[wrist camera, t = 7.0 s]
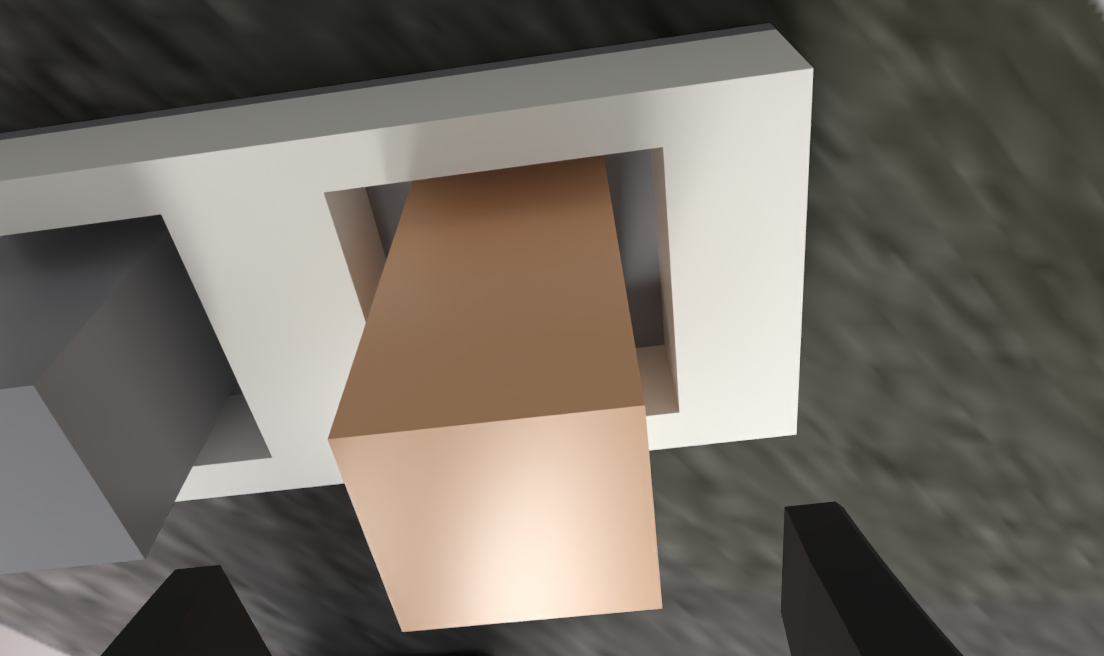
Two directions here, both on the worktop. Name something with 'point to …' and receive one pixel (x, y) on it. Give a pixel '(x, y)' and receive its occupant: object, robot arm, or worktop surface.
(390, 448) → the plug
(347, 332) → the white compartment tray
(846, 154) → the worktop surface
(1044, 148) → the worktop surface
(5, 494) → the graphite plug
